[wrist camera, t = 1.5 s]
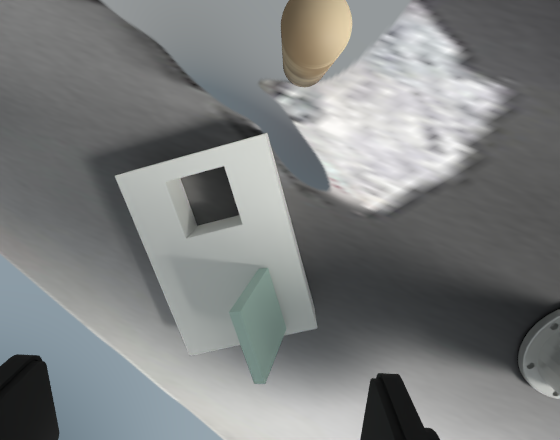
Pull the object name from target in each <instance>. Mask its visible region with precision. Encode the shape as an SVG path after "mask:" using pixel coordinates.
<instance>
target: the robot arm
mask: <svg viewBox="0 0 560 440" xmlns="http://www.w3.org/2000/svg"><path fill="white" fill-rule="evenodd" d="M518 365H519V368H520V372H521V374H522V375H523V377H524V379H525V380H526V381H527V382H528V383H529V384H530V385H531V386H532V387H533V388H534V389H535V390H536V391H538V392H539V393H541V394H543V395H545V396H548V397H551V398H556V399H560V309H559V310H556V311H554V312H553V313H551V314H549V315H547V316H545V317H544V318H543V319H541V320H540V321H539V322H537V323H536V324H535V325H534V326H533V327H532V328H531V329H530V331H529V332H528V334H527V335H526V336H525V338H524V340H523V342H522V344H521V346H520V350H519V354H518ZM58 438H59V428H58V423H57V418H56V412H55V407H54V402H53V396H52V392H51V386H50V381H49V376H48V370H47V365H46V363H45V362H43V361H42V359H41V358H40V356H37V355H14V356H12V357H11V358H9V359H8V360H7V361H6V362H5V363H4V364H2V365H1V366H0V440H58ZM360 440H440V439H439V437H438V435H437V434H436V432H435V431H434V430H433V429H431V428H424V426H423V424H422V422H421V420H420V418H419V415H418V413H417V411H416V409H415V407H414V405H413V402H412V400H411V398H410V396H409V394H408V392H407V389H406V387H405V385H404V383H403V381H402V379H401V377H400V375H398V374H384V373H378V375H377V377H376V379H375V378H372V379H371V381H370V386H369V392H368V398H367V404H366V410H365V415H364V421H363V427H362V433H361V439H360Z"/></svg>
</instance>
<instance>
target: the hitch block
mask: <svg viewBox="0 0 560 440" xmlns="http://www.w3.org/2000/svg"><path fill="white" fill-rule="evenodd" d="M222 166H224V167H225V170H226V174H227V177H228V180H229V183H230V186H231V189H232V193H233V196H234V199H235V202H236V205H237V208H238V212H239V215H237V216H234V217H230V218H226V219H222V220H218V221H214V222H210V223H206V224H202V225H198V226H197V223H196V221H195V218H194V215H193V212H192V209H191V207H190V204H189V201H188V198H187V196H186V193H185V190H184V187H183V184H182V182H181V179H180V178H182V177H186V176H189V175H193V174H197V173H200V172H204V171H208V170H211V169H215V168H219V167H222ZM115 178H116V180H117V183H118V185H119V187H120V190H121V192H122V195H123V197H124V200H125V202H126V204H127V207H128V209H129V212H130V214H131V216H132V219H133V221H134V224H135V226H136V228H137V231H138V233H139V236H140V238H141V240H142V243H143V245H144V248H145V250H146V252H147V255H148V257H149V260H150V262H151V264H152V267H153V269H154V272H155V274H156V276H157V279H158V281H159V284H160V286H161V288H162V291H163V293H164V296H165V298H166V300H167V303H168V305H169V308H170V310H171V313H172V315H173V317H174V320H175V322H176V325H177V327H178V329H179V332H180V334H181V337H182V339H183V341H184V344H185V346H186V349H187V351H188V353H189V356H193V355H197V354H202V353H207V352H211V351H216V350H220V349H225V348H230V347H234V346H239V345H240V342H239V339H238V337H237V334H236V331H235V328H234V325H233V323H232V320H231V317H230V314H229V311H230V310H231V308H232V307H233V306H234V304H235V303H236V301H237V300H238V298H239V297H240V295H241V294H242V292H243V291H244V289H245V288H246V287H247V285H248V284H249V282H250V281H251V279H252V278H253V276H254V275H255V273H256V272H257V270H258V269H262V268H268V269H269V273H270V276H271V279H272V283H273V286H274V289H275V292H276V296H277V299H278V302H279V306H280V309H281V312H282V315H283V319H284V322H285V325H286V328H287V329H286V331H285V334H284V336H285V335H289V334H294V333H299V332H303V331H308V330H312V329H317V321H316V315H315V308H314V304H313V300H312V297H311V293H310V289H309V286H308V282H307V278H306V274H305V271H304V267H303V263H302V260H301V256H300V252H299V249H298V245H297V241H296V237H295V234H294V230H293V226H292V223H291V219H290V215H289V212H288V208H287V204H286V200H285V197H284V193H283V189H282V186H281V182H280V178H279V175H278V171H277V167H276V164H275V160H274V156H273V152H272V149H271V145H270V141H269V138H268V134H267V133H264V134H261V135H257V136H254V137H250V138H246V139H243V140H239V141H236V142H232V143H228V144H225V145H221V146H218V147H214V148H211V149H207V150H203V151H200V152H196V153H193V154H189V155H185V156H182V157H178V158H175V159H171V160H168V161H164V162H160V163H157V164H153V165H150V166H146V167H142V168H139V169H135V170H132V171H129V172H126V173H122V174H119V175H116V176H115Z"/></svg>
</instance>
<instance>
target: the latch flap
mask: <svg viewBox="0 0 560 440" xmlns="http://www.w3.org/2000/svg"><path fill="white" fill-rule="evenodd" d="M229 314H230V317H231V320H232V323H233V325H234V328H235V331H236V334H237V337H238V339H239V342H240V345H241V348H242V351H243V353H244V356H245V359H246V362H247V365H248V367H249V370H250V373H251V376H252V378H253V381H254V384H265V383H266V381H267V378H268V375H269V373H270V370H271V368H272V365H273V363H274V360H275V357H276V355H277V352H278V350H279V347H280V344H281V342H282V339H283V337H284V334H285V331H286V329H287V328H286V325H285V322H284V319H283V315H282V312H281V309H280V306H279V302H278V299H277V296H276V292H275V289H274V286H273V283H272V279H271V276H270V273H269V269H268V268H262V269H258V270H257V272H256V273H255V275H254V276H253V278H252V279H251V281H250V282H249V284H248V285H247V287H246V288H245V289H244V291H243V292H242V294H241V295H240V297H239V298H238V300H237V301H236V303H235V304H234V306H233V307H232V308H231V310H230V311H229Z"/></svg>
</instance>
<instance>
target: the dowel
mask: <svg viewBox="0 0 560 440" xmlns="http://www.w3.org/2000/svg"><path fill="white" fill-rule="evenodd" d="M351 30H352V16H351V12H350V9H349V6H348V4H347V2H346V1H345V0H289V1H288V3H287V5H286V7H285V9H284V11H283V15H282V19H281V38H282V55H283V69H284V72H285V75H286V77H287V78H288V80H289V81H290V82H291V83H293V84H294V85H296V86H299V87H309V86H312V85H314V84H316V83H317V82H318V81H319V80H320V79H321V78H322V77H323V75H324V74H325V73H326V72H327V70H328V69H329V68H330V66H331V65H332V64H333V63H334V62H335V60H336V59H337V58H338V56H339V55H340V54H341V53H342V51H343V50H344V48H345V47H346V45H347V43H348V41H349V38H350V35H351Z"/></svg>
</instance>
